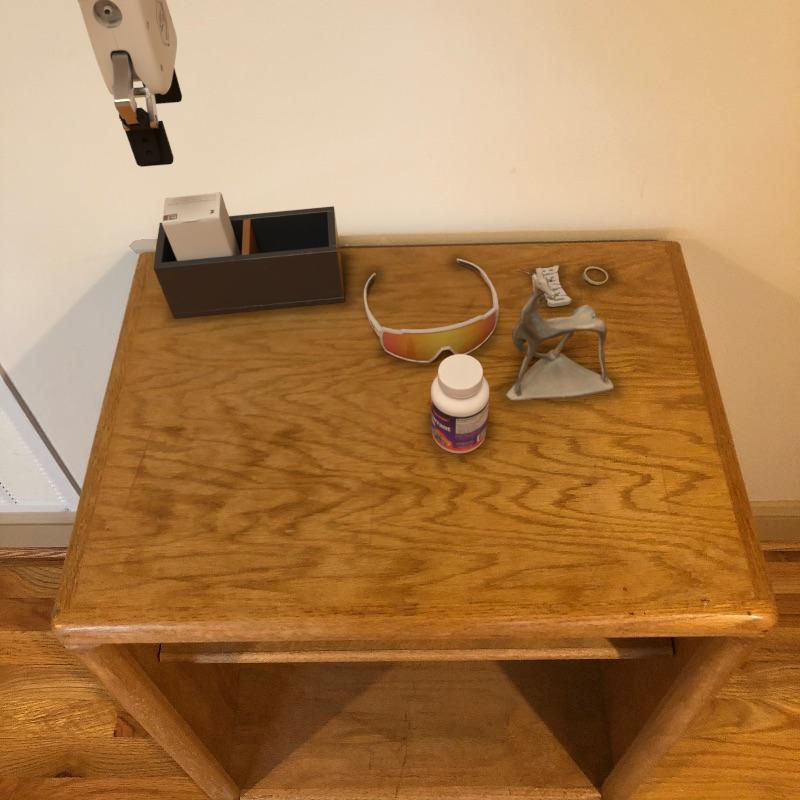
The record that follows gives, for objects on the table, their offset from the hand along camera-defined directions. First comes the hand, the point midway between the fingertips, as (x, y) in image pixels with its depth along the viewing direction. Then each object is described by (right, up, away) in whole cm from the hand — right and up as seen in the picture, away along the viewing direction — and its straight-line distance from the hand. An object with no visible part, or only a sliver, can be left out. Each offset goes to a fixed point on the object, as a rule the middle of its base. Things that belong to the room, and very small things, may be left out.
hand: (161, 131), depth 72 cm
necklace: (+38, -12, +16) cm, 43 cm away
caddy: (+6, -12, +18) cm, 22 cm away
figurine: (+38, -22, +9) cm, 45 cm away
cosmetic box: (+2, -12, +17) cm, 21 cm away
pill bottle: (+28, -28, +5) cm, 40 cm away
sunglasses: (+25, -15, +14) cm, 33 cm away
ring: (+44, -11, +16) cm, 48 cm away
